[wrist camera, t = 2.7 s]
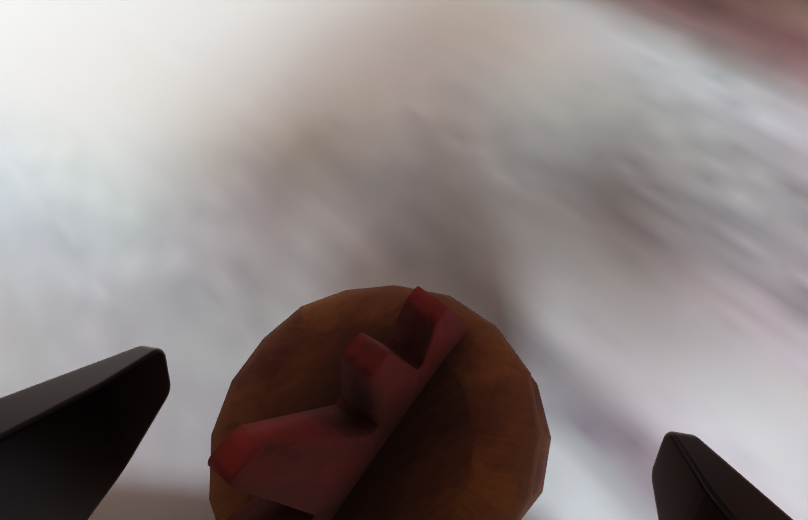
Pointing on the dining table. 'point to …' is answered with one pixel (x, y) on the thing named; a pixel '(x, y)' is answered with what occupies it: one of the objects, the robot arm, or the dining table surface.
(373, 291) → the wooden figurine
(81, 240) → the dining table surface
